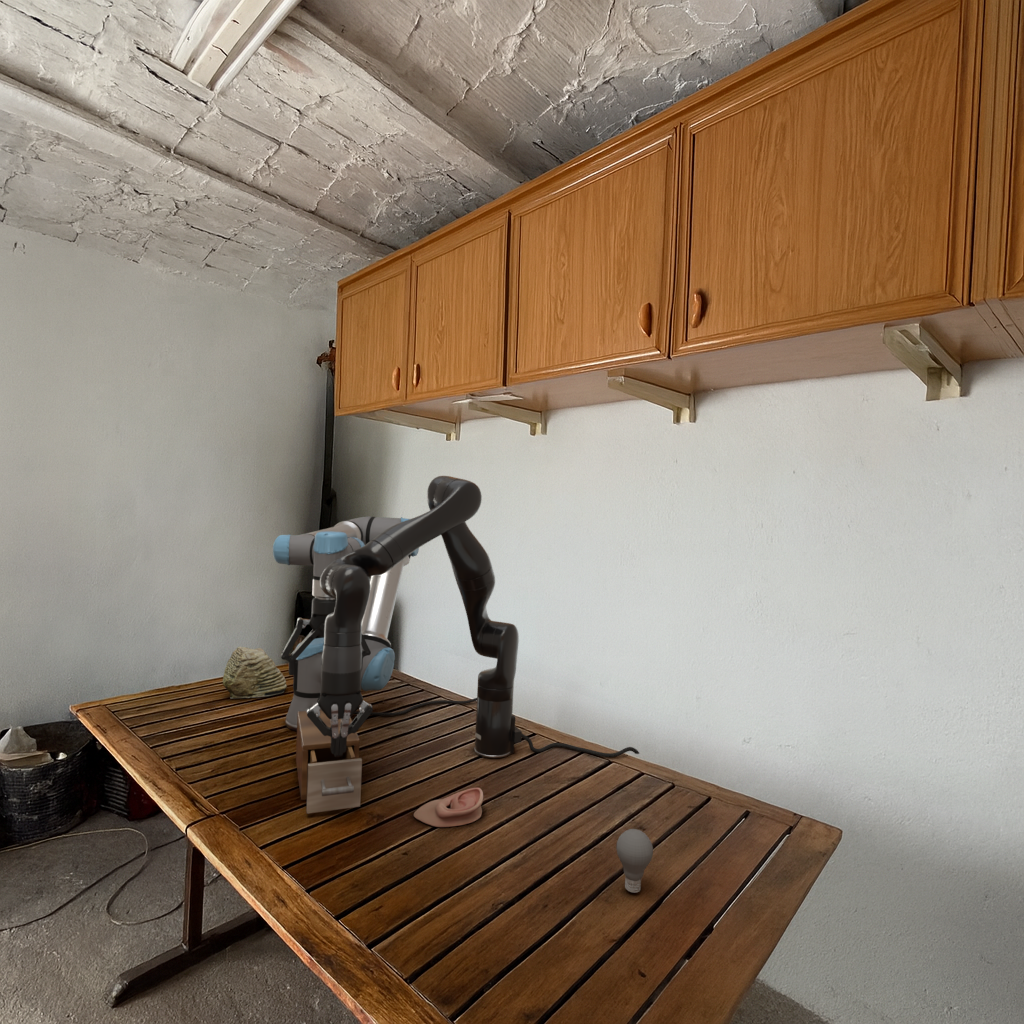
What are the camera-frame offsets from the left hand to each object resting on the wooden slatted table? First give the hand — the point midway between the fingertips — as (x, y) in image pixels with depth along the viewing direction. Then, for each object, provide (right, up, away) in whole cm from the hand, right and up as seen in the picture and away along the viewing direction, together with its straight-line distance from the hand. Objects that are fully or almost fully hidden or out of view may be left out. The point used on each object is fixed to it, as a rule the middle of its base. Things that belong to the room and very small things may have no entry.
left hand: (325, 686), depth 150 cm
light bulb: (+64, -22, -44) cm, 81 cm away
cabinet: (+2, -19, -5) cm, 19 cm away
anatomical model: (+31, -20, -21) cm, 43 cm away
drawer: (+6, -18, -16) cm, 25 cm away
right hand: (+10, -6, -27) cm, 29 cm away
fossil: (-37, -16, +48) cm, 63 cm away
